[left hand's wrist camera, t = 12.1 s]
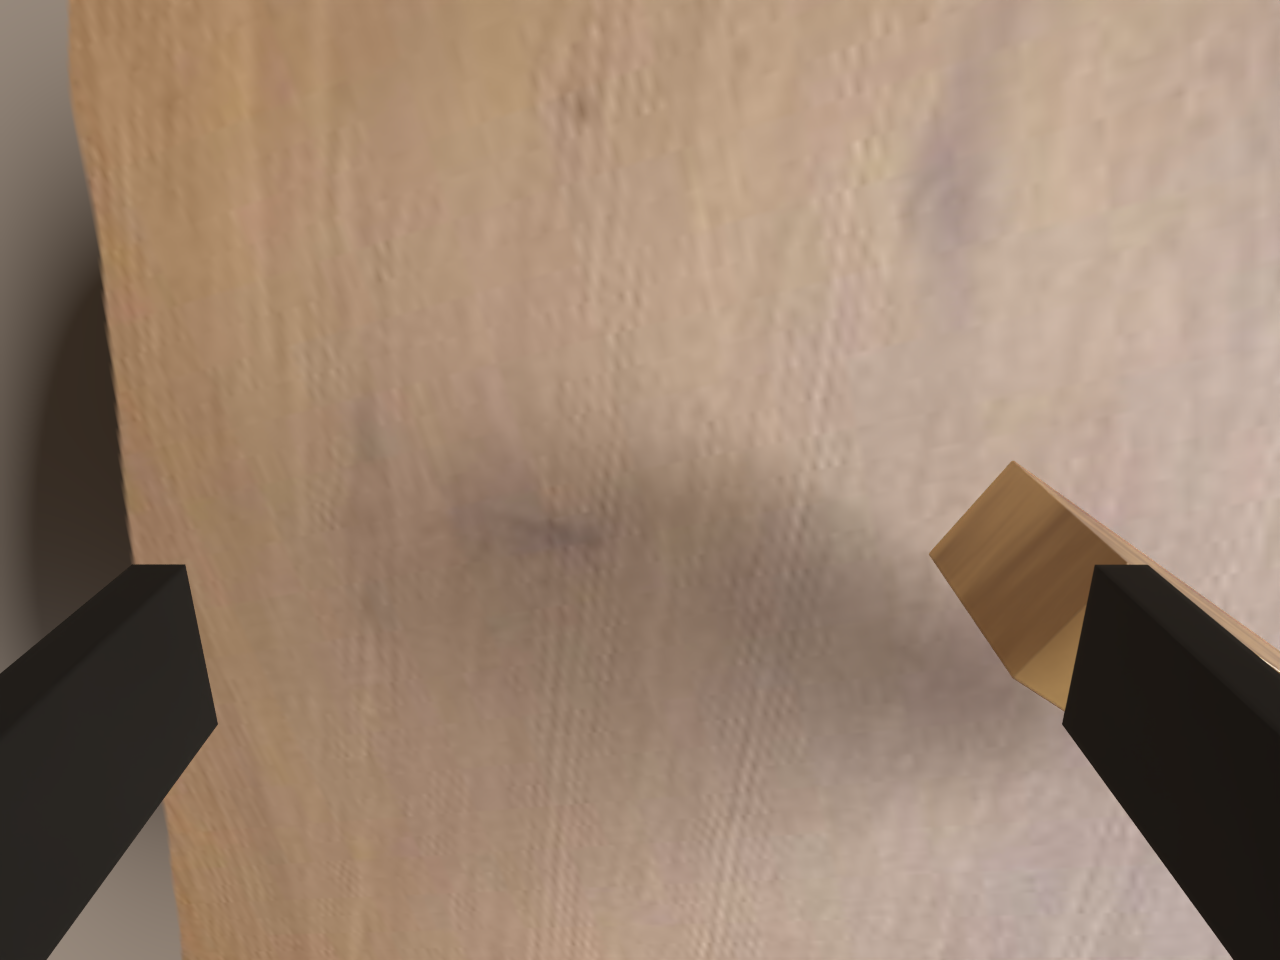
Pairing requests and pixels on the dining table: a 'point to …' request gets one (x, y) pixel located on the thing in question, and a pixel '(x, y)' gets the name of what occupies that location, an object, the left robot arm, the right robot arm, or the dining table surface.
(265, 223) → the dining table surface
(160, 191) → the dining table surface
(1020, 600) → the bar
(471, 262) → the dining table surface
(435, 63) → the dining table surface
